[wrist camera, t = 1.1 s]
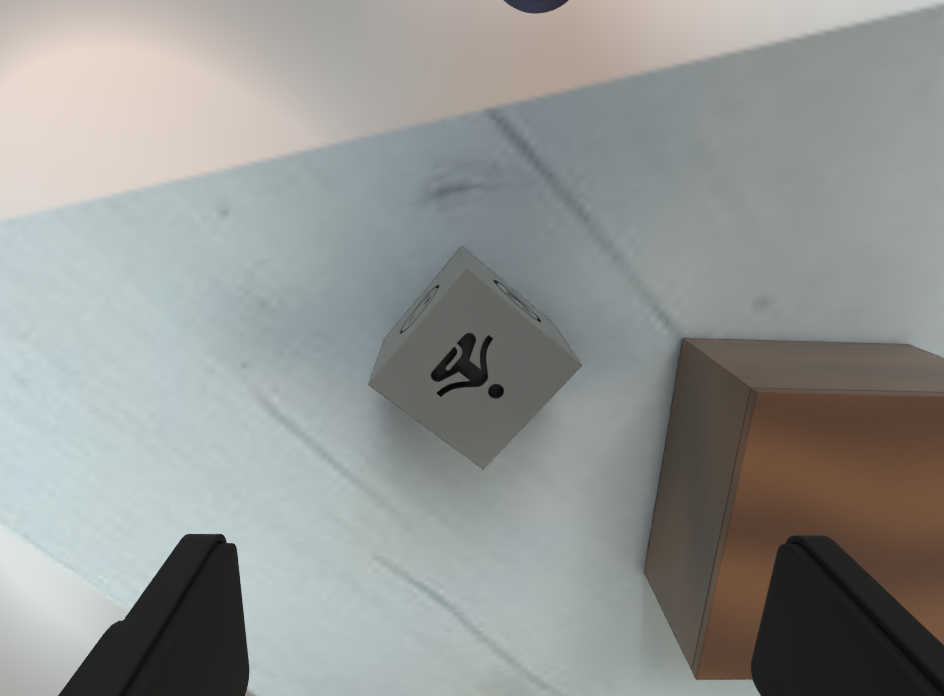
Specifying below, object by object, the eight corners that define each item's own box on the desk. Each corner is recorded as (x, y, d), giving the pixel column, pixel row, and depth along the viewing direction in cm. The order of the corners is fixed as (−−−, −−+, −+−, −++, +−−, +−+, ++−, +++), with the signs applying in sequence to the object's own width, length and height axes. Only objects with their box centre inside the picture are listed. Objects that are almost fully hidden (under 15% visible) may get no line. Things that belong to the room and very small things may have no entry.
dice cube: (462, 245, 22) (466, 267, 17) (554, 324, 23) (582, 365, 19) (383, 339, 23) (367, 384, 18) (475, 410, 24) (483, 469, 20)
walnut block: (682, 337, 24) (757, 392, 18) (909, 344, 24) (1051, 398, 19) (643, 573, 27) (695, 680, 22) (841, 574, 28) (942, 678, 22)
